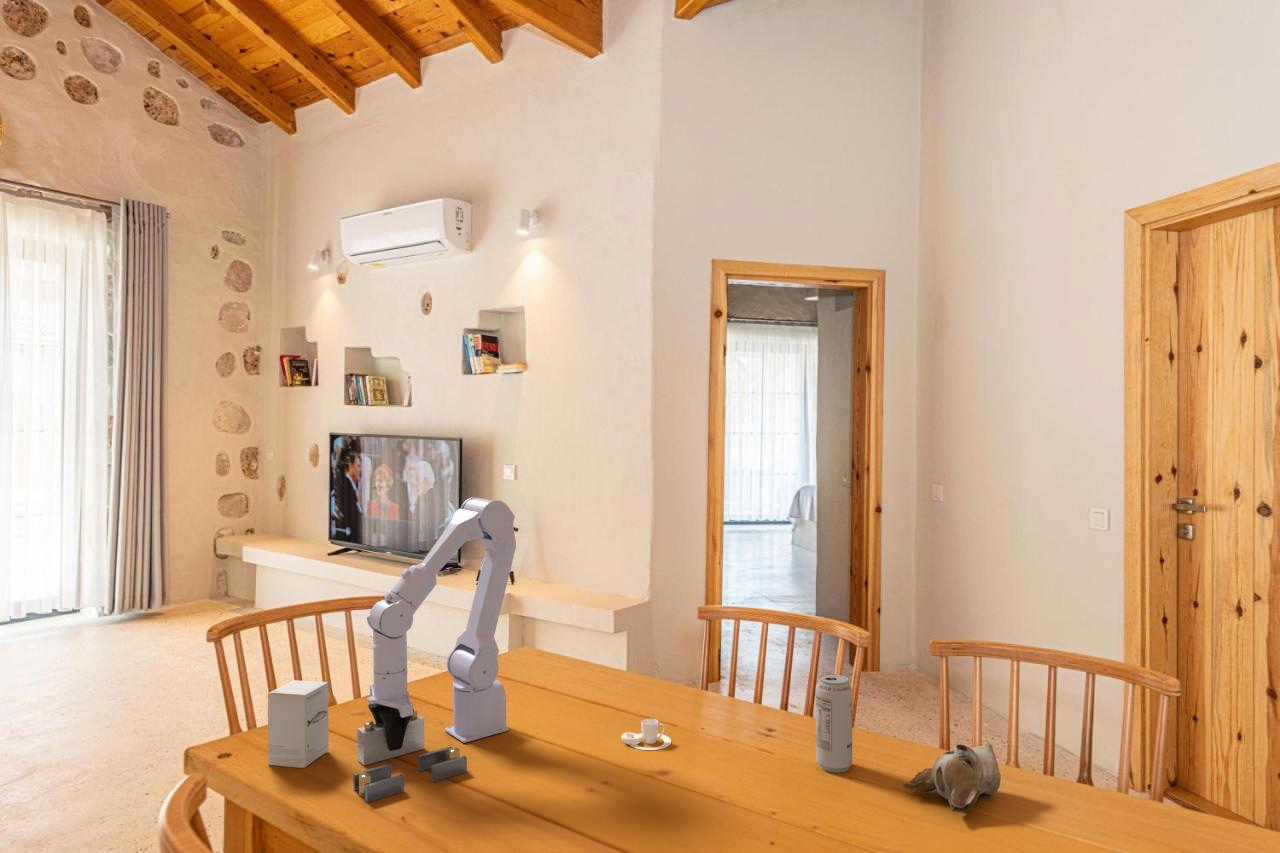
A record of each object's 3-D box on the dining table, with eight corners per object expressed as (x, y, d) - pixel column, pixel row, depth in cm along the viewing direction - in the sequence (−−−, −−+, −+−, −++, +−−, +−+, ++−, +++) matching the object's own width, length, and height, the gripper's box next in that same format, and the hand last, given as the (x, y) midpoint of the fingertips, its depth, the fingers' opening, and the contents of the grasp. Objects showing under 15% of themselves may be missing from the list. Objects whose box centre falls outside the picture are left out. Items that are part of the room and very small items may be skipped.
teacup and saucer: (616, 748, 148) (616, 725, 148) (633, 732, 156) (633, 711, 156) (662, 755, 145) (662, 732, 145) (677, 739, 152) (677, 717, 152)
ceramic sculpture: (1020, 744, 126) (954, 772, 119) (1022, 800, 127) (957, 830, 119) (962, 723, 135) (897, 747, 128) (964, 774, 136) (900, 801, 128)
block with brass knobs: (417, 743, 150) (417, 708, 150) (424, 748, 147) (424, 712, 147) (357, 759, 143) (357, 722, 143) (364, 765, 140) (363, 727, 140)
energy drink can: (857, 773, 136) (857, 683, 136) (821, 774, 136) (821, 684, 136) (845, 758, 142) (845, 672, 142) (811, 759, 142) (811, 673, 142)
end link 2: (451, 760, 143) (451, 743, 142) (467, 772, 138) (467, 754, 138) (418, 770, 139) (417, 752, 139) (433, 782, 134) (433, 764, 134)
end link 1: (389, 778, 136) (389, 760, 135) (404, 791, 131) (404, 772, 131) (352, 789, 132) (352, 770, 132) (366, 803, 127) (366, 783, 127)
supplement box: (305, 769, 139) (304, 695, 139) (266, 765, 141) (265, 692, 141) (330, 751, 147) (329, 681, 146) (293, 748, 148) (292, 678, 148)
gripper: (353, 664, 148) (354, 739, 148) (384, 684, 137) (385, 765, 137) (390, 656, 152) (391, 729, 153) (424, 675, 141) (425, 754, 141)
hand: (391, 745), depth 145 cm, fingers closed on block with brass knobs, 3 cm apart
